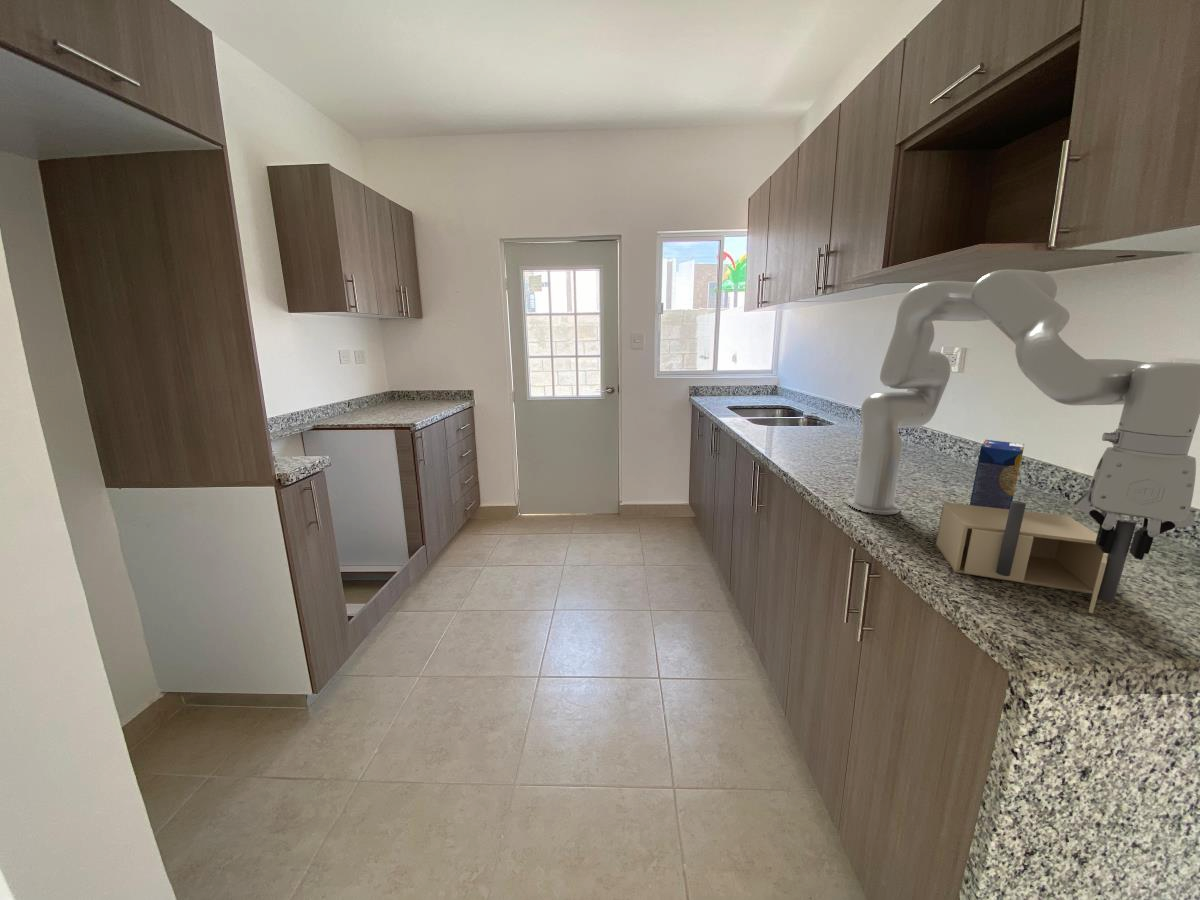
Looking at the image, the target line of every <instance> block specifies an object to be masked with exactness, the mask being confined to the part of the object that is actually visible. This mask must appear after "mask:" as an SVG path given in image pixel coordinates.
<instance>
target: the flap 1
mask: <svg viewBox="0 0 1200 900" xmlns="http://www.w3.org/2000/svg"><path fill="white" fill-rule="evenodd" d="M1026 504H1027V503H1026V502H1023V501H1020V500H1012V501H1011V505H1010V509H1009V514H1008V519H1007V523H1006V528H1005V532H1004V533H1001V532H993V531H985V530H977V529H972V533H971V538H970V543H969V548H968V553H967V558H966V563H965V568H964V573H967V574H966V575H969V574H974V575H973V576H976V575H980V576H979V577H982V576H987V577H986V578H989V577H993V578H992V579H995V578H999V579H998V580H1001V579H1006V580H1005V581H1008V580H1012V581H1011V582H1014V581H1019V582H1018V583H1021V582H1023V581H1024V577H1025V573H1026V568H1027V564H1028V560H1029V556H1030V551H1031V547H1032V543H1033V538H1034V537H1033V536H1025V535H1019V533H1020V529H1021V524H1022V520H1023V515H1024V511H1026V506H1027V505H1026Z"/></svg>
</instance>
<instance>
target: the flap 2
mask: <svg viewBox="0 0 1200 900" xmlns="http://www.w3.org/2000/svg"><path fill="white" fill-rule="evenodd" d="M1116 520H1117V521H1116V525H1115V526H1114V530H1115V531H1116V535H1115V539H1114V542H1113V546H1112V550H1111V553H1109V554H1107V553H1103V557H1102V561H1101V564H1100V568H1099V572H1098V575H1097V579H1096V583H1095V586H1094V590H1093V594H1092V595H1091V600H1090V603H1089V608H1088V613H1091V614H1094V611H1095V607H1096V604H1097V600H1098V601H1101V602H1103V603H1106V604H1113V603H1114V602H1115V599H1116V594H1117V591H1118V588H1119V585H1120V583H1121V582H1120V581H1121V578H1122V574H1123V571H1124V567H1125V565H1126V564H1125V563H1126V561H1127V557H1128V554H1129V553H1128V552H1129V551H1130V548H1131V544H1132V541H1133V537H1134V534H1135V528H1136V525H1137V523H1136V522H1134V521H1132V520H1129V519H1116Z"/></svg>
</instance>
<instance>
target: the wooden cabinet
mask: <svg viewBox="0 0 1200 900" xmlns="http://www.w3.org/2000/svg"><path fill="white" fill-rule="evenodd" d="M1008 514H1009V509H1001V508H991V507H982V506H973V505H970V504H963V503H953V502H945V501H943V502H942V508H941V514H940V519H939V525H938V529H937V536H936V539H935V540H936V542H935V546H936V547H937V548H938V550H939V551H940V552H941V554H942V556H943V557H944V558H945V560H946V562H947V563H948V564H949V565H950V567H951V568H952V570H953V571H954V573H958V574H964V575H969V576H970V575H971V576H976V577H977V576H978V577H982V578H983V577H984V578H990V579H997V580H1000V581H1008V582H1009V581H1010V582H1016V583H1021V584H1028V585H1032V586H1033V585H1034V586H1040V587H1048V588H1054V589H1058V590H1059V589H1060V590H1067V591H1072V592H1073V591H1074V592H1079V593H1086V594H1093V590H1094V586H1095V583H1096V579H1097V575H1098V572H1099V568H1100V564H1101V561H1102V557H1103V552H1102V550H1101V549H1100V548H1099V545H1096V538H1097V534H1098V533H1096V532H1094V531H1092V530H1091V529H1090V528H1088V527H1086V526H1085V525H1083V524H1081V523H1080V522H1078V521H1077V520H1075V519H1073V518H1072V517H1071V516H1069V515H1063V514H1053V513H1045V512H1035V511H1026V510H1025V511H1024V515H1023V520H1022V524H1021V529H1020V533H1019V535H1025V536H1033V537H1034V538H1033V543H1032V547H1031V551H1030V556H1029V560H1028V564H1027V568H1026V573H1025V577H1024V581H1023V582H1019V581H1012V580H1006V579H999V578H993V577H987V576H980V575H974V574H967V573H964V568H965V563H966V558H967V553H968V548H969V543H970V538H971V533H972V529H977V530H985V531H993V532H1001V533H1004V532H1005V528H1006V523H1007V519H1008Z"/></svg>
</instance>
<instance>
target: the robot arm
mask: <svg viewBox="0 0 1200 900" xmlns="http://www.w3.org/2000/svg"><path fill="white" fill-rule="evenodd" d="M1057 291H1058V286H1057V282H1056V281H1055V279H1054V278H1053V277H1052V276H1051V275H1050V274H1048V273H1046V272H1044V271H1040V270H1032V269H1030V270H1029V269H1009V268H1008V269H999V270H994V271H991V272H989V273H986V274H985V275H983V276H981V277H980V278H979V279H978V280H977V281H960V280H959V281H958V280H936V281H934V280H933V281H928V282H924V283H921V284H919V285H916V286H914V287H913V288H911V289H910V290H909V291H908V292H906V294H905V295H904V297H903V298H902V300H901V302H900V304H899V306H898V310H897V314H896V319H895V320H896V321H895V326H894V331H893V334H892V336H891V339H890V341H889V345H888V349H887V351H886V354H885V357H884V360H883V363H882V366H881V370H880V375H879V377H880V378H879V379H880V382H881V383H882V385H883V386H884V387H887V388H889V389H896V390H907V391H884V392H883V391H882V392H877V393H876V392H875V393H873V394H871V395H869V396H868V397H866V398H865V399H864V400H863V402H862V405H861V408H860V419H861V437H860V438H861V440H860V446H859V456H858V465H857V471H856V478H855V479H856V480H855V487H854V493H853V496H849V497H848V498H847V500H846V504H847V505H848V506H849V505H850V506H851V507H850V506H849V507H850V508H852V507H853V508H852V509H854V508H855V509H854V510H856V509H857V511H859V510H861V512H863V513H867V512H868V513H869V514H872V513H873V514H872V515H879V516H880V515H882V516H883V515H884V516H885V515H886V516H889V515H896V514H898V513H900V510H901V507H900V504H899V505H898V504H897V503H896V502H895V499H896V498H895V497H896V493H897V492H896V491H897V485H898V477H899V473H900V466H901V460H902V452H903V442H902V438H901V435H900V433H899V430H898V429H907V428H910V429H911V428H919V427H924V426H925V425H927V424H928V423H929V422H930V421H931V420H932V419H933V418H934V415H935V413H936V411H937V409H938V406H939V404H940V401H941V400H942V397H943V394H944V393H945V390H946V387H947V385H948V382H949V381H950V375H951V364H950V361H949V359H948V357H947V356H946V355H944V353H942V352H939V351H935V350H930V349H931V347H932V345H933V342H934V338H935V327H934V324H933V322H935V321H936V322H937V321H940V322H942V321H944V322H946V321H948V322H981V321H990V322H991V323H992V324H993V325H994V326H995V327H996V328H998V329H999V330H1000V331H1001V332H1002V333H1003V334H1004V335H1005V336H1006V337H1007V338H1008V339H1010V341H1012V342H1013V344H1015V351H1014V352H1015V357H1016V361H1017V364H1018V367H1019V369H1020V371H1021V372H1022V373H1023V375H1024V376H1025V377H1026V378H1027V379H1028V380H1029V381H1030V382H1031V383H1032V384H1033V385H1034V386H1035V387H1036V388H1037V389H1038V390H1039V391H1041V392H1042V393H1043V395H1045V396H1047V397H1048V398H1049V399H1050V400H1053V401H1054V402H1057V403H1059V404H1062V405H1066V406H1067V405H1068V406H1115V405H1121V406H1122V405H1123V407H1122V411H1121V416H1120V419H1119V422H1118V426H1117V428H1115V430H1114V431H1113V432H1103V434H1102V437H1101V440H1102V441H1103V442H1109V443H1111V444H1112V446H1110V447H1106V449H1105V450H1104V452H1103V454H1102V456H1101V458H1100V459H1099V461H1098V463H1097V465H1096V468H1095V470H1094V472H1093V476H1092V478H1091V480H1090V484H1089V486H1088V489H1087V491H1086V492H1085V493H1083V494H1082V495H1081V496H1080V497H1079V498H1078V499H1077V500H1075V501H1074V503H1073V506H1074V507H1075V508H1076V509H1077V510H1079V511H1080V512H1082V513H1084V514H1086V515H1088V516H1090V517H1091V518H1092V519H1093V520H1094V521H1095V522H1096V523H1097V524H1098V525H1099V527H1098V531H1097V533H1096V534H1097V538H1096V545H1099V548H1100V549H1101V550H1102V552H1103V553H1107V554H1109V553H1111V550H1112V546H1113V542H1114V539H1115V535H1116V531H1115V526H1114V525H1115V522H1117V521H1116V520H1117V518H1118V515H1123V516H1131V517H1136V518H1142V522H1141V527H1140V528H1139V529H1136V530H1134V533H1133V536H1132V540H1131V543H1130V547H1129V553H1130V554H1131V555H1132V556H1133V557H1134V558H1135V559H1136V560H1140V561H1141V560H1144V556H1145V555H1148V554H1149V553H1150V551H1151V547H1152V545H1153V540H1154V538H1158V537H1159V536H1160V534H1164V533H1165V532H1166V533H1167V532H1168V531H1171V530H1173V529H1176V528H1183V527H1184V528H1185V527H1191V526H1194V525H1196V520H1195V517H1194V516H1193V513H1192V512H1191V505H1192V501H1193V498H1194V490H1195V483H1196V476H1197V474H1196V473H1197V459H1196V457H1194V456H1191V455H1188V454H1189V451H1190V447H1191V445H1192V442H1193V438H1194V435H1195V431H1196V428H1197V424H1198V421H1199V419H1200V363H1196V362H1167V361H1166V362H1162V361H1161V362H1158V361H1157V362H1156V361H1155V362H1145V361H1138V360H1132V359H1131V360H1130V359H1116V358H1115V359H1113V358H1112V359H1111V358H1110V359H1108V358H1091V359H1090V358H1087V359H1086V358H1084V357H1083V356H1081V354H1079V353H1078V352H1077V351H1076V350H1075V349H1073V348H1072V347H1070V346H1069V345H1068V344H1067V343H1066V342H1065V341H1064V339H1062V338H1061V337H1060V335H1059V333H1060V332H1061V331H1062V330H1063V329H1064V328H1065V327H1066V326H1067V325H1068V323H1069V320H1070V312H1069V311H1068V309H1067V308H1065V307H1064V306H1063V305H1061V304H1060V303H1059V302H1057V301H1056V300H1055V298H1056V296H1057V293H1058V292H1057ZM1092 506H1093V507H1092Z"/></svg>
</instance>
